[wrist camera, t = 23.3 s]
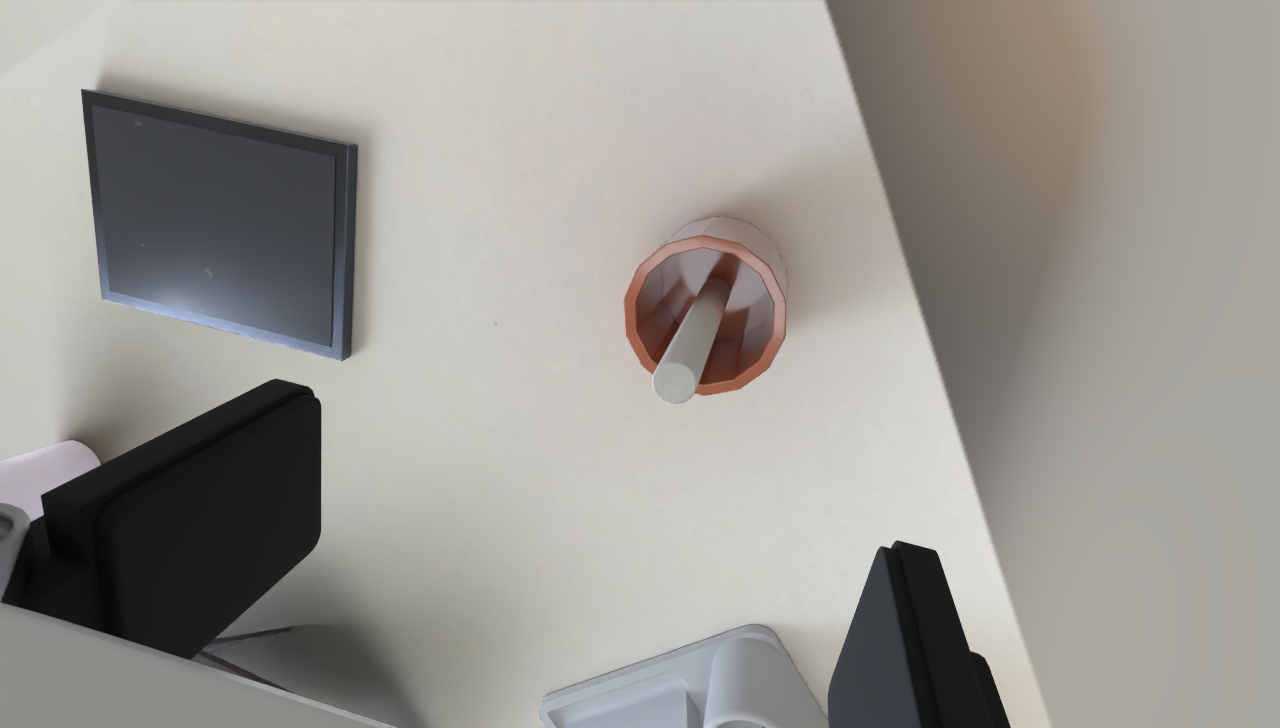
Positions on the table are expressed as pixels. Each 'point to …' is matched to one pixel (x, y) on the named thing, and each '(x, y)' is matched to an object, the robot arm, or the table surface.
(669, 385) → the stylus
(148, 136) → the tablet
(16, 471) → the smoothie
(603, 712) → the phone holder
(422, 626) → the table surface
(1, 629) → the robot arm
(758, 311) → the pencil cup
